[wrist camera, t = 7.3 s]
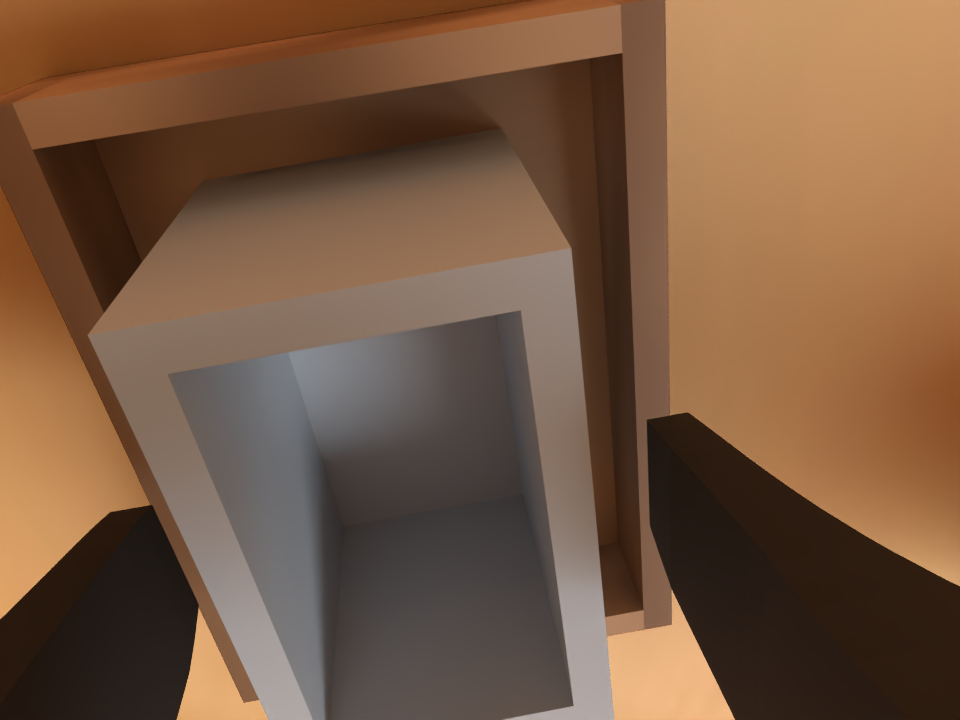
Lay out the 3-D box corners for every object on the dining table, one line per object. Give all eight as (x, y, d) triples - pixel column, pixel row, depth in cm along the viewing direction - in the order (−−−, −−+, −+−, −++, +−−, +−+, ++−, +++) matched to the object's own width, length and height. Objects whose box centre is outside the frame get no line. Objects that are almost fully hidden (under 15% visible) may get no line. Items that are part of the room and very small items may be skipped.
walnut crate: (615, -14, 12) (665, -4, 10) (638, 542, 18) (671, 624, 16) (42, 78, 12) (-36, 110, 10) (261, 609, 18) (243, 702, 16)
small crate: (501, 128, 12) (571, 248, 8) (549, 494, 16) (614, 722, 12) (203, 181, 12) (87, 334, 8) (324, 536, 16) (298, 783, 12)
